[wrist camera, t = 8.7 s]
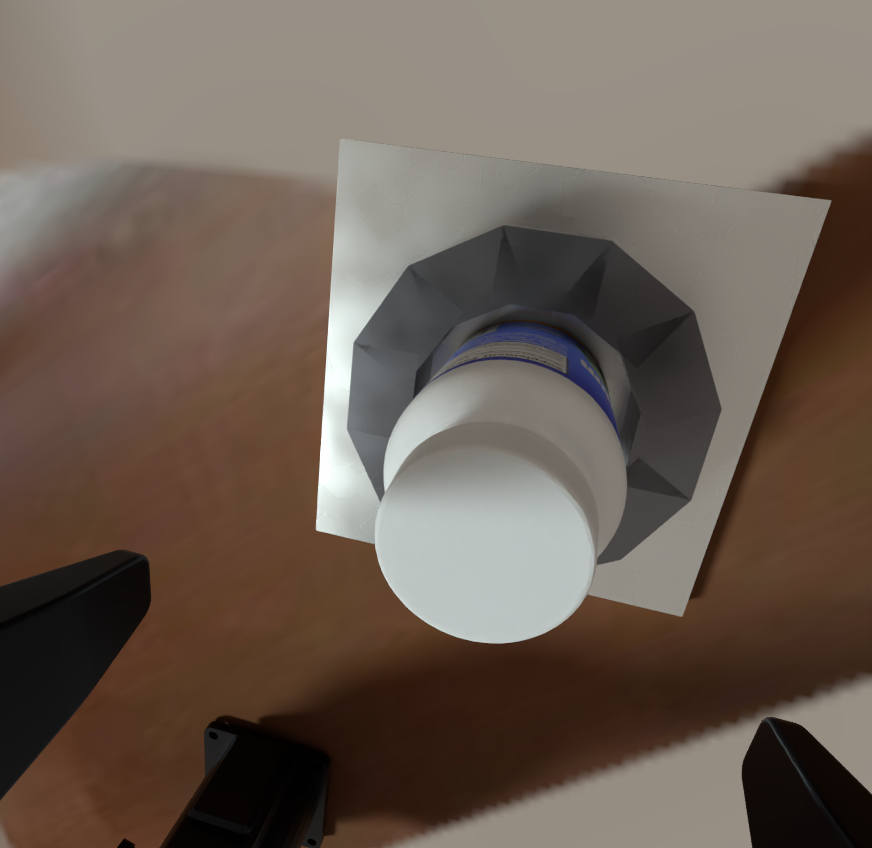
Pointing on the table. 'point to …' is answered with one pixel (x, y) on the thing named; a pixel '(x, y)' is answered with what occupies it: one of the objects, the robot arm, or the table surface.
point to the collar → (563, 324)
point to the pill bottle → (502, 485)
